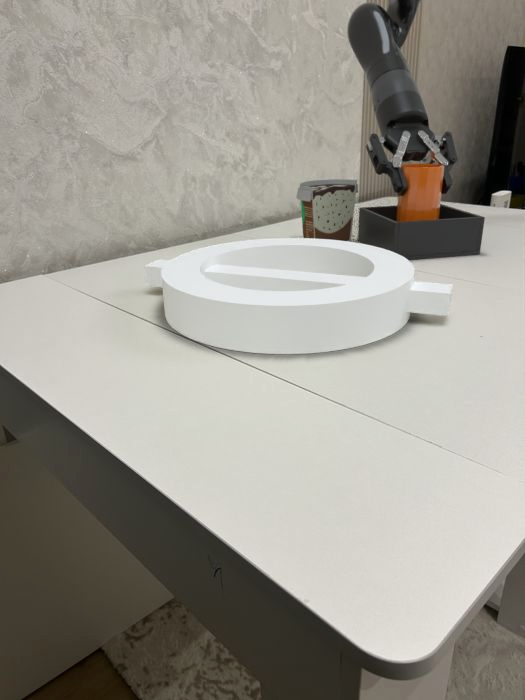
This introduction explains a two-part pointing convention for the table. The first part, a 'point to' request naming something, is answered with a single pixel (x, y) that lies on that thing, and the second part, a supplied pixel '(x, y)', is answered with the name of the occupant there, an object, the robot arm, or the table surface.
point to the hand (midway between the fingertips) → (425, 191)
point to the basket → (422, 233)
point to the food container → (328, 208)
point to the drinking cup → (421, 192)
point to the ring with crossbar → (292, 294)
